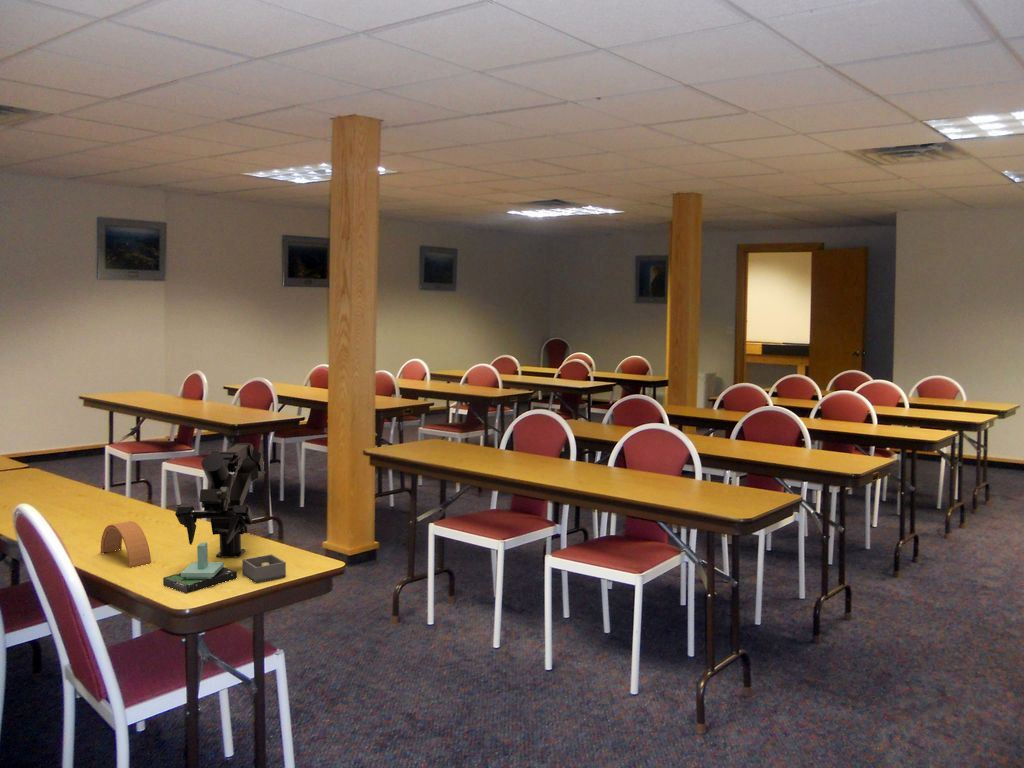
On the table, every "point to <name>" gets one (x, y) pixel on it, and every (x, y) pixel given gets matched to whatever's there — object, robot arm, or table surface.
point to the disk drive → (198, 581)
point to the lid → (202, 565)
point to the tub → (264, 568)
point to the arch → (127, 542)
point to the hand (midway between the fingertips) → (208, 543)
